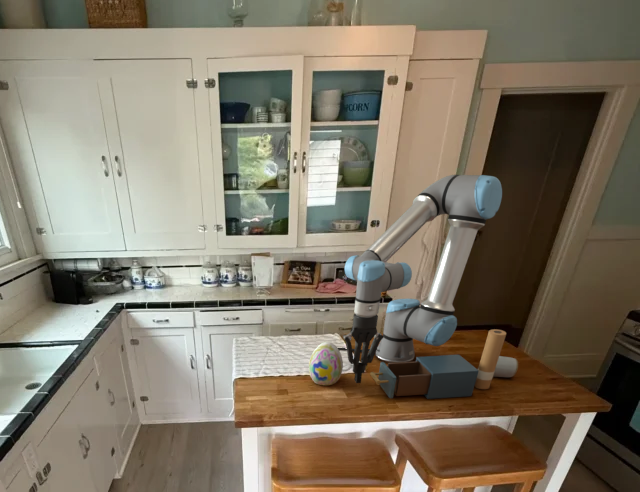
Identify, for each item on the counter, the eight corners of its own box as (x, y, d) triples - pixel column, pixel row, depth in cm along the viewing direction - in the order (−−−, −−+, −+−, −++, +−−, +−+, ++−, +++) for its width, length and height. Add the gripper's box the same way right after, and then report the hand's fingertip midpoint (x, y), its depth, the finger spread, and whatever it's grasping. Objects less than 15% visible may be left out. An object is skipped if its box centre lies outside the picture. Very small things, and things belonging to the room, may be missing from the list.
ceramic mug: (514, 381, 154) (521, 361, 150) (490, 379, 155) (496, 360, 151) (506, 369, 163) (512, 350, 159) (483, 367, 164) (488, 349, 160)
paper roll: (470, 385, 152) (486, 331, 141) (477, 381, 155) (493, 327, 144) (485, 390, 149) (502, 335, 138) (492, 385, 152) (509, 331, 140)
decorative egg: (304, 385, 155) (306, 347, 147) (312, 371, 164) (314, 334, 156) (337, 390, 151) (341, 351, 143) (344, 376, 161) (347, 338, 152)
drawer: (377, 399, 144) (380, 378, 139) (365, 382, 154) (368, 362, 150) (430, 395, 145) (435, 375, 141) (416, 379, 155) (420, 359, 151)
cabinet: (427, 399, 145) (433, 373, 139) (411, 381, 156) (416, 356, 151) (471, 396, 146) (479, 370, 140) (452, 378, 157) (458, 354, 152)
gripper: (348, 318, 130) (341, 387, 143) (390, 316, 130) (379, 385, 144) (342, 311, 136) (336, 377, 149) (382, 309, 137) (372, 375, 150)
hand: (357, 381), depth 146 cm, fingers closed
